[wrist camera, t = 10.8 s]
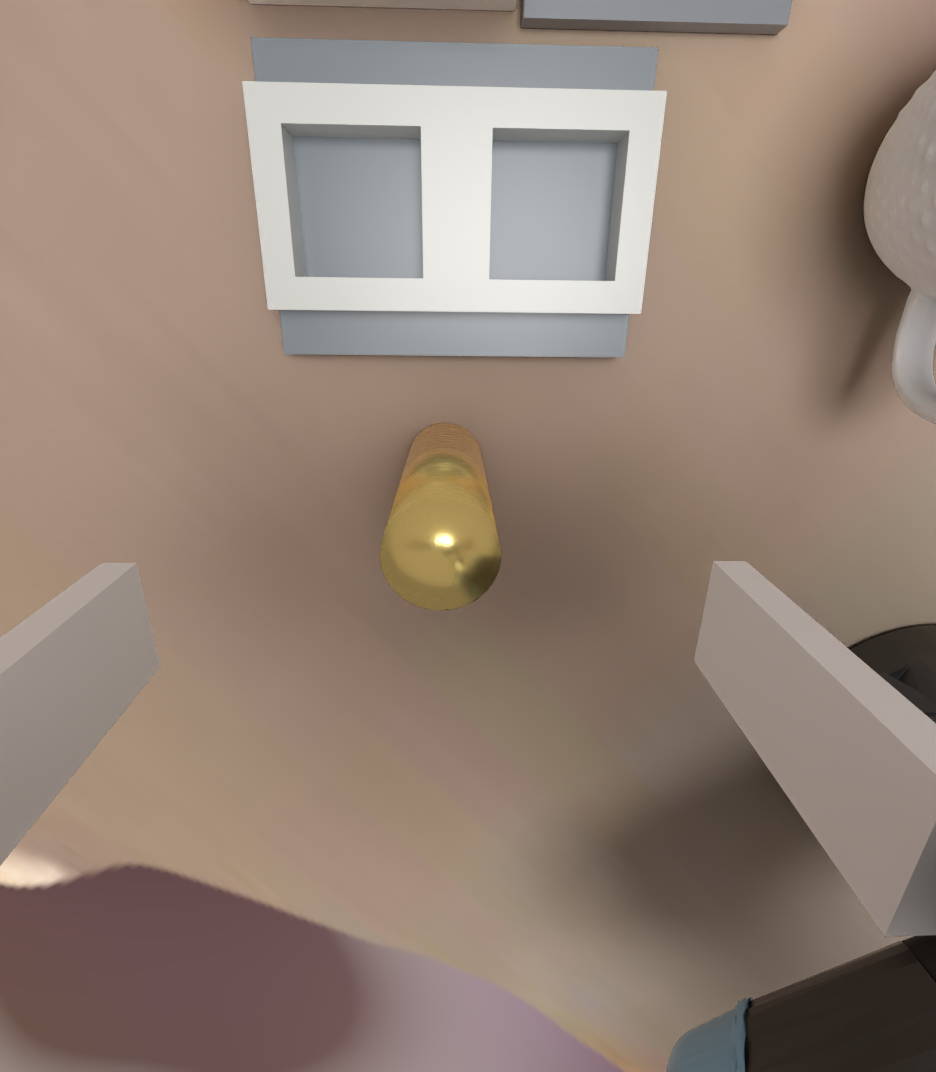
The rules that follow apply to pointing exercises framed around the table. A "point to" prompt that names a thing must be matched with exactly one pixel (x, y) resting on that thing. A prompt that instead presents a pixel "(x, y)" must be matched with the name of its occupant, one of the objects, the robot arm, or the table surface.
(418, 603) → the peg
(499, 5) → the block
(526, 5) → the tile
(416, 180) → the board
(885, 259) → the mug
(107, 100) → the table surface
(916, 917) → the robot arm
